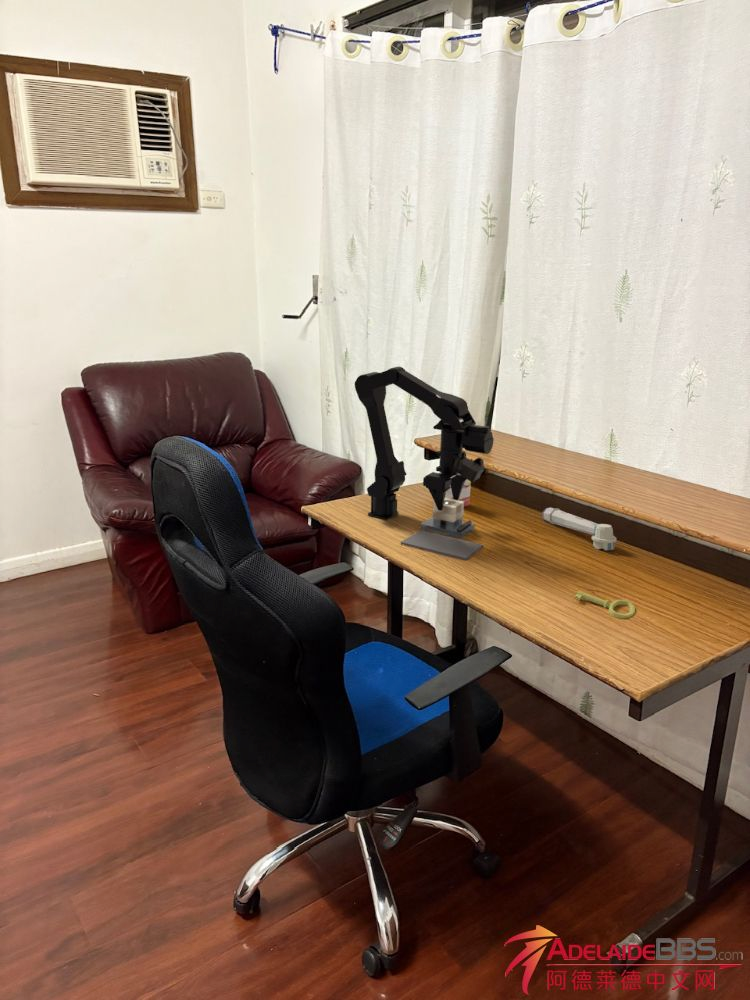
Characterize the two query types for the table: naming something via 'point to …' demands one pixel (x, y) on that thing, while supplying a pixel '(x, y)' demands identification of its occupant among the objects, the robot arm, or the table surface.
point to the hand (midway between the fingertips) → (448, 505)
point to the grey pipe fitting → (582, 527)
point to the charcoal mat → (442, 544)
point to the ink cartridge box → (464, 493)
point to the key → (608, 604)
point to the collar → (449, 510)
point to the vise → (448, 526)
